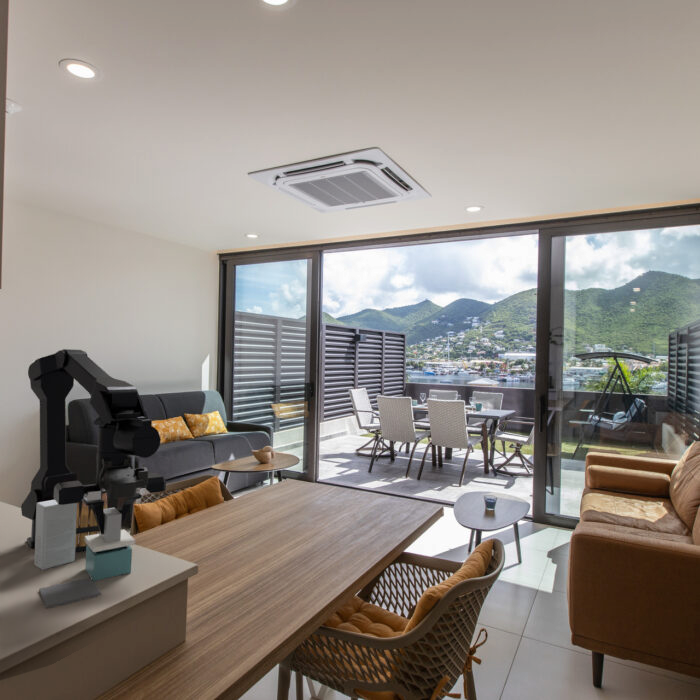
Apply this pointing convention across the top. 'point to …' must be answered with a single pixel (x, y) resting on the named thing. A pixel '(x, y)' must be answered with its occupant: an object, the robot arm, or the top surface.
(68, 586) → the mat
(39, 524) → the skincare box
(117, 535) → the lid
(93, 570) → the teal open box
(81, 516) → the ammunition clip
